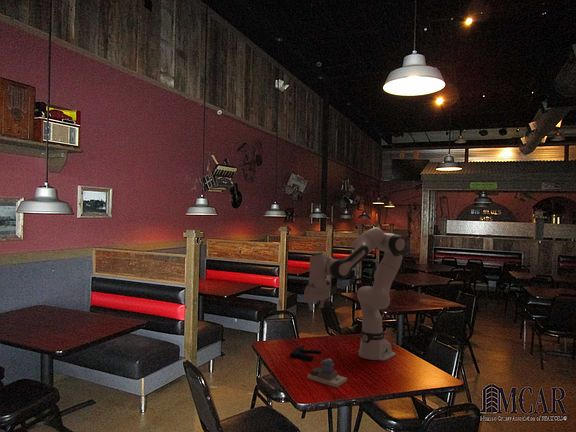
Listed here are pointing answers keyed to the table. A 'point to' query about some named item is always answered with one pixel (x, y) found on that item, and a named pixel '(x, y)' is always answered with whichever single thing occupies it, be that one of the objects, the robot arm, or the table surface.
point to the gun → (301, 353)
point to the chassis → (326, 377)
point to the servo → (327, 366)
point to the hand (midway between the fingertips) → (316, 308)
